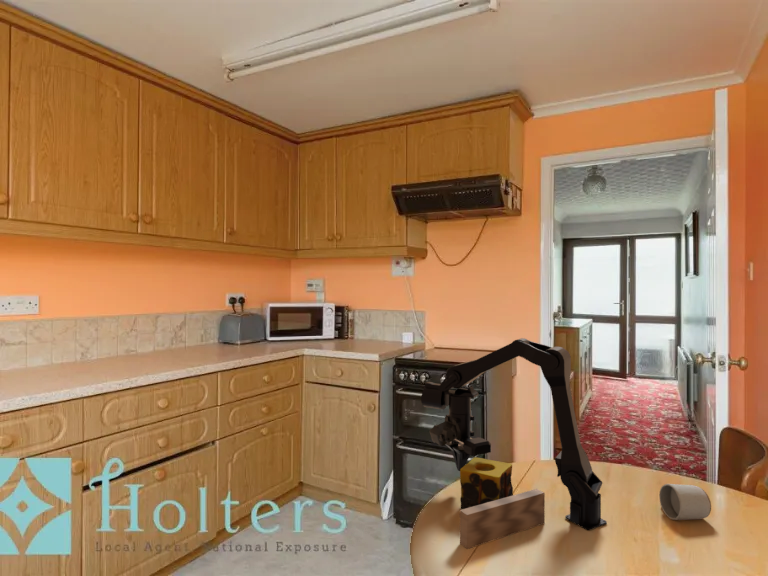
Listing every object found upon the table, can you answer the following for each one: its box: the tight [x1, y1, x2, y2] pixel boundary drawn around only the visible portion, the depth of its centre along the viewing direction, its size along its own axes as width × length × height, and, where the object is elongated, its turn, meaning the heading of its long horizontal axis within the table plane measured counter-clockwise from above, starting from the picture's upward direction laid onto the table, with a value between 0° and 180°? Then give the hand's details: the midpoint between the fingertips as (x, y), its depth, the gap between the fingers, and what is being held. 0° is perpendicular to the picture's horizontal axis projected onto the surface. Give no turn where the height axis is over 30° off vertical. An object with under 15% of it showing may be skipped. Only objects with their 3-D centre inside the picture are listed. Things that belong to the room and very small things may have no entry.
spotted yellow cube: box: [459, 456, 514, 510], centre depth 117 cm, size 10×10×10 cm
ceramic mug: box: [659, 483, 712, 521], centre depth 112 cm, size 11×8×8 cm
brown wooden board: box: [459, 488, 546, 550], centre depth 104 cm, size 22×2×7 cm, turn 118°
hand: (460, 470), depth 126 cm, fingers closed
